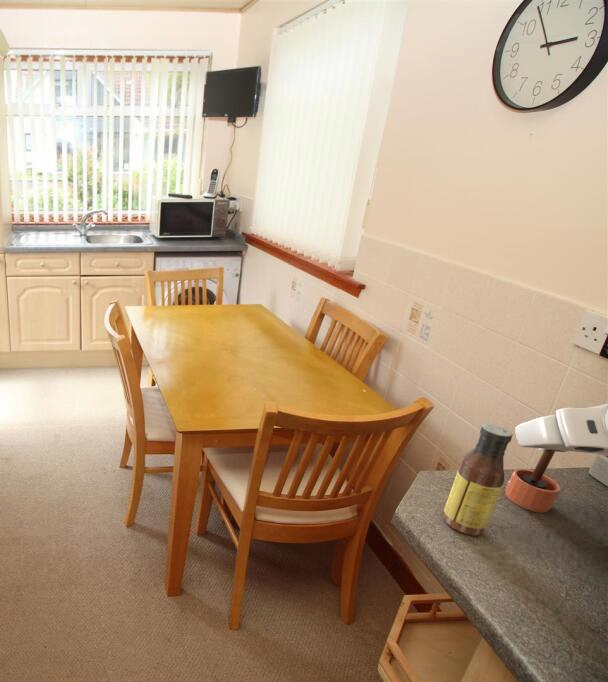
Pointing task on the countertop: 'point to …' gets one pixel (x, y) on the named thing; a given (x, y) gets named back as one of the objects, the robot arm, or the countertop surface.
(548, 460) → the toilet plunger
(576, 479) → the countertop surface
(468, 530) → the sauce bottle
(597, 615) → the countertop surface
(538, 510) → the bowl
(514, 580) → the countertop surface
